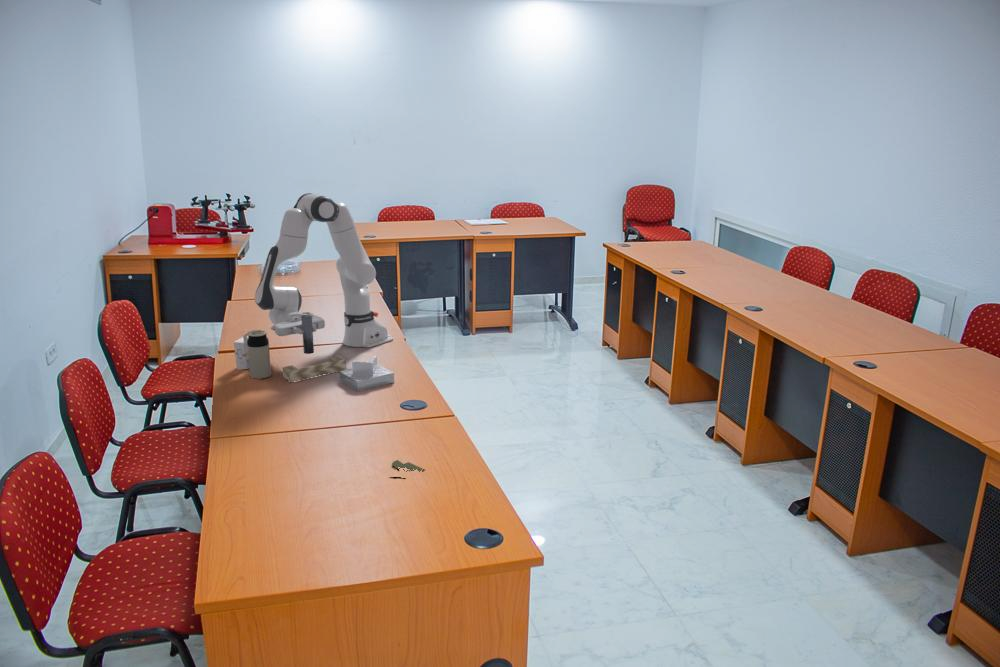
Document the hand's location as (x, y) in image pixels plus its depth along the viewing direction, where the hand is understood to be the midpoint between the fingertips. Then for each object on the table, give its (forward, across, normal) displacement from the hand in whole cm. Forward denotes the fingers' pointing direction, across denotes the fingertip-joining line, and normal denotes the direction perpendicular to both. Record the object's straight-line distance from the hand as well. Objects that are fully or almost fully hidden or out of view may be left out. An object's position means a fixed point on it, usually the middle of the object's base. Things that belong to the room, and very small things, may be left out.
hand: (308, 331), depth 313 cm
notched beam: (+4, 0, +17) cm, 17 cm away
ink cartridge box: (-21, -18, +17) cm, 33 cm away
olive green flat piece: (+99, -18, +17) cm, 102 cm away
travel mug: (-7, -18, +17) cm, 26 cm away
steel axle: (-1, 0, +9) cm, 9 cm away
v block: (+23, +12, +17) cm, 31 cm away
